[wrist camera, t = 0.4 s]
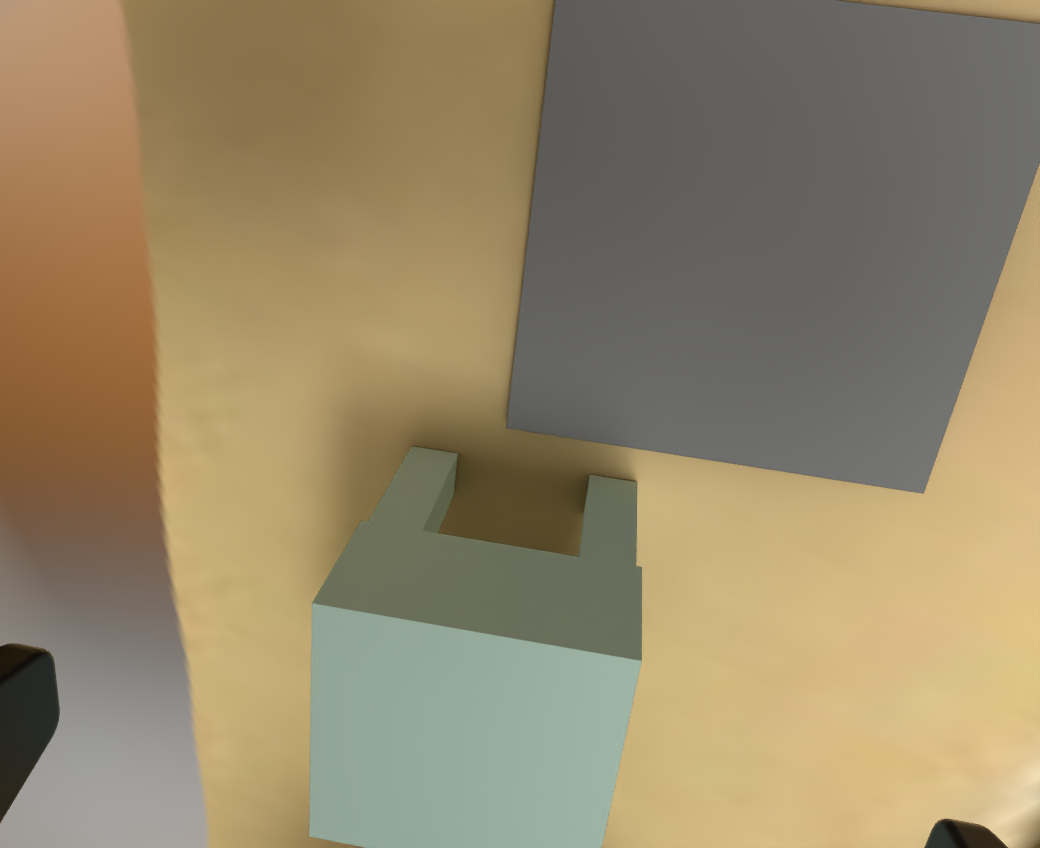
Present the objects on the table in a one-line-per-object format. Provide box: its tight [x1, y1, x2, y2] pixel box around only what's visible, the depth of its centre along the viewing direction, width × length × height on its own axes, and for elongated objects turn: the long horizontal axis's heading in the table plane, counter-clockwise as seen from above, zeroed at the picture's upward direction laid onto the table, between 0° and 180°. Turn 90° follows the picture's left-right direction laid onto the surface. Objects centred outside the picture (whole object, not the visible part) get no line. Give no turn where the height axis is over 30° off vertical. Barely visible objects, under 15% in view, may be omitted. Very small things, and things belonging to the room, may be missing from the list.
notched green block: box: [309, 446, 642, 848], centre depth 20 cm, size 6×6×7 cm
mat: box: [506, 0, 1040, 494], centre depth 19 cm, size 10×10×1 cm
